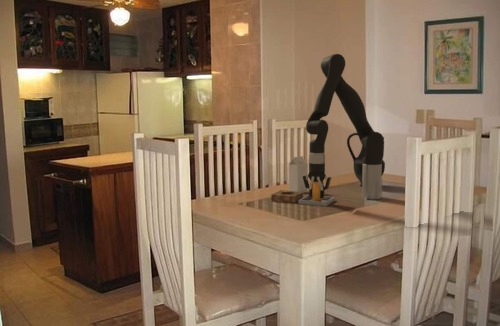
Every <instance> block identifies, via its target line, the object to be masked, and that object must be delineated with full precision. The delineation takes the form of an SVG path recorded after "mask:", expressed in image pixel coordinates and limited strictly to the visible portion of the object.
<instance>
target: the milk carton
mask: <svg viewBox="0 0 500 326" xmlns="http://www.w3.org/2000/svg"><path fill="white" fill-rule="evenodd" d="M305 175H308V163H307V161H306V160H305V159H304V155H303V156H295V157H294V156H293V157H292V160H291V161H290V162H289V163H288V191H299V192H303V193H308V188H306V187H305V184H304V180H303V176H305Z"/></svg>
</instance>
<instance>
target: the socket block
mask: <svg viewBox="0 0 500 326" xmlns="http://www.w3.org/2000/svg"><path fill="white" fill-rule="evenodd" d="M270 196H271V199H270V200H271V203H273V202H276V203H277V202H279V203H289V204H295V203H298V200H300V199H302V198H303V197H304V192H299V191H289V190H282V189H281V190H278V191H276V192H274V193H272V194H271V195H270Z"/></svg>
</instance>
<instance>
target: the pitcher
mask: <svg viewBox="0 0 500 326" xmlns="http://www.w3.org/2000/svg"><path fill="white" fill-rule="evenodd" d="M354 136H358V134H357V132H353V133H351V134H349V135H348V137H347V138H346V146H347V148H348V151H349V153H350V156H351V158H352V161H353V173H354V176H355V177H356V179H357V181H359V182H360V185H359V186H360V187H361V188H362V174H363V158H364V157H365V154H366V148H365V147H364V146H363V145H362V144H361V149H360V152H359V154H358V156H356V155H355V154H354V151H353V148H352V147H351V144H350V140H351V139H352V137H354ZM383 138H384V139H385V137H384V136H383ZM385 168H386V162H385V161H384V158H383V159H382V174H381V178H382V177H383V174H384V172H385Z"/></svg>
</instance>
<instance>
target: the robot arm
mask: <svg viewBox="0 0 500 326" xmlns="http://www.w3.org/2000/svg"><path fill="white" fill-rule="evenodd" d="M345 67H346V59H345V57H344V56H343V55H342V54H340V53H335V54H331V55H328V56H326V57H324V58H323V59H322V60H321V63H320V69H321V72H322V73H323V74H324V77H325V78H326V80H325V81H324V83H323V86H322V88H321V89H320V90H319V93H318V95H317V97H316V101H315V105H314V107H313V108H314V109H313V110H312V112H311V114H310V116H309V118H308V120H307V121H306V125H305V128H306V132H307V133H308V134H309V135H315V136H316V138H315V139H311V140H310V141H309V155H308V173H307V175H305V176H303V180H304V184H305V187H306V188H307V190H309V193H308V195H310V197H312V185H313V182H319V186H320V188H321V191H320V198H323V197H324V196H325V191H326V190H328V189H329V187H330V183H331V181H332V177H331V176H328V175H326V155H325V144H326V142H327V136H328V133H329V123H328V122H327V121H326V120H324V119H322V118H324V117H327V116H328V115H329V113H330V109H331V105H332V101H333V97H334V95H335V94H336V96H337V97H338V100H339V101H340V104H341V106H342V108H343V109H344V111H345V113H346V114H347V116H348V119H349V120H350V122H351V124H352V125H353V127H354V129H355V131H356V133H357V134H358V135H357V136H358V138H359V142H360V143H361V146H362V145H363V146H364V147H365V148H366V154H365V157H364V158H363V174H362V187H361V189H362V190H361V197H362V198H365V199H367V200H380V199H382V198H383V178H382V177H381V174H382V159H383V160H384V156H385V140H384V139H385V137H384V136H383V135H382V133H381V132H378V131H375V130H374V129H373V128H372V126H371V124H370V123H369V120H368V118H367V112H366V109H365V108H366V107H365V105H364V102H363V100H362V98H361V97H360V95H359V93H358V92H357V91H356V89H354V88H353V86H351V85H350V84H349V83H347V82H346V81H345V79H344V78H343V76H342V75H343V73H344V70H345ZM383 137H384V138H383ZM309 180H310V182H309ZM324 181H326V182H325V183H324Z"/></svg>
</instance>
